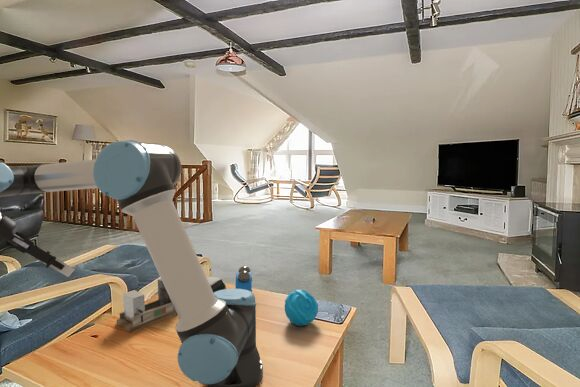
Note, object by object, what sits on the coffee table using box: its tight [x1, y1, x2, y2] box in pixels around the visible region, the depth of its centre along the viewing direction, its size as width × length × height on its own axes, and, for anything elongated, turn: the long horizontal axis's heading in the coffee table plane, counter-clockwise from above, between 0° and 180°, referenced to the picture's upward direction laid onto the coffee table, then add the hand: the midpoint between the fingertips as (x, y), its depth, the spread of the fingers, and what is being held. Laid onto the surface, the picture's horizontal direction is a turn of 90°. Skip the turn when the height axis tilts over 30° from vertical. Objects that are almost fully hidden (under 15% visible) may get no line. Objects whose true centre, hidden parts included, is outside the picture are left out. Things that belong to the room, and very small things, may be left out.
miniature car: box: [207, 276, 227, 293], centre depth 137 cm, size 9×18×8 cm, turn 160°
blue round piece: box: [284, 289, 319, 327], centre depth 116 cm, size 12×11×12 cm
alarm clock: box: [235, 265, 253, 293], centre depth 130 cm, size 13×6×15 cm, turn 6°
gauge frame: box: [116, 278, 177, 333], centre depth 120 cm, size 10×20×12 cm, turn 142°
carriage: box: [122, 289, 146, 323], centre depth 115 cm, size 9×4×9 cm, turn 52°
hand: (68, 271), depth 99 cm, fingers open, 4 cm apart
